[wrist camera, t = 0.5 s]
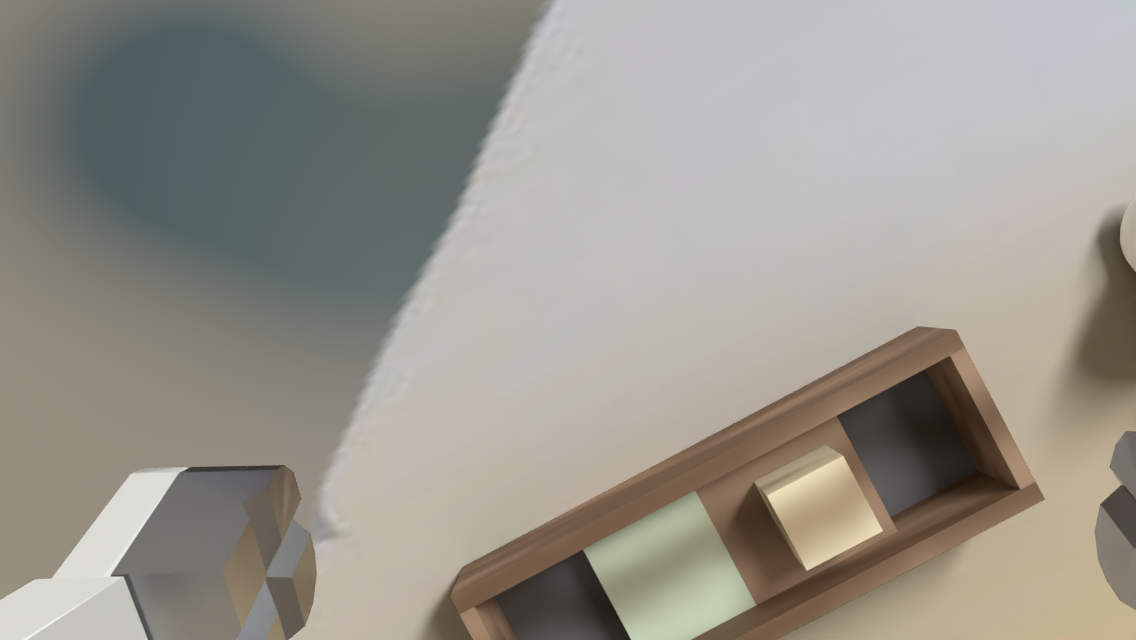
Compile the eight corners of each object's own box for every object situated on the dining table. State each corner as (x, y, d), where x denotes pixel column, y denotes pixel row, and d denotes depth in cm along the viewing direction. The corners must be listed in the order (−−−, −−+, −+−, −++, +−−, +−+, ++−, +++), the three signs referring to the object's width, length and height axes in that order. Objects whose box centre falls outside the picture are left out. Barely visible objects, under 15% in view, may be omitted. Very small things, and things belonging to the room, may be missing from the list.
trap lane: (998, 478, 60) (1045, 499, 54) (543, 716, 61) (539, 763, 55) (917, 326, 60) (955, 329, 54) (462, 567, 60) (449, 597, 54)
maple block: (861, 514, 57) (882, 531, 53) (790, 551, 57) (806, 570, 53) (824, 444, 57) (843, 455, 53) (753, 481, 57) (767, 495, 53)
